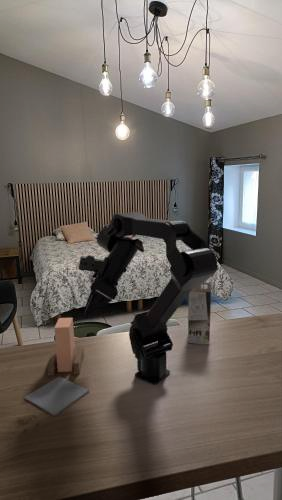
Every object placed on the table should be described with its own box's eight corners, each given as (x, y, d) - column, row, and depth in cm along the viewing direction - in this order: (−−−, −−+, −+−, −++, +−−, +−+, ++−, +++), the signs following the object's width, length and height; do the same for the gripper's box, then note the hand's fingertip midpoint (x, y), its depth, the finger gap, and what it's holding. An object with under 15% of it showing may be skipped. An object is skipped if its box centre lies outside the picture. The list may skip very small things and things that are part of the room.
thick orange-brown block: (75, 359, 94) (72, 317, 91) (72, 371, 88) (69, 327, 85) (61, 359, 94) (58, 318, 91) (57, 371, 88) (54, 327, 85)
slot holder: (83, 356, 95) (83, 345, 95) (79, 374, 87) (78, 363, 86) (55, 357, 95) (54, 347, 94) (48, 375, 86) (47, 364, 86)
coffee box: (209, 345, 100) (211, 291, 97) (187, 343, 102) (187, 290, 98) (210, 331, 109) (211, 282, 106) (189, 330, 110) (189, 281, 107)
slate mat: (88, 391, 79) (88, 390, 79) (54, 416, 71) (54, 414, 71) (59, 377, 85) (59, 376, 85) (24, 398, 77) (24, 397, 77)
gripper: (92, 241, 97) (62, 288, 96) (91, 244, 78) (54, 303, 78) (126, 262, 98) (96, 309, 98) (133, 269, 80) (96, 327, 79)
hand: (86, 311), depth 88 cm, fingers open, 9 cm apart
